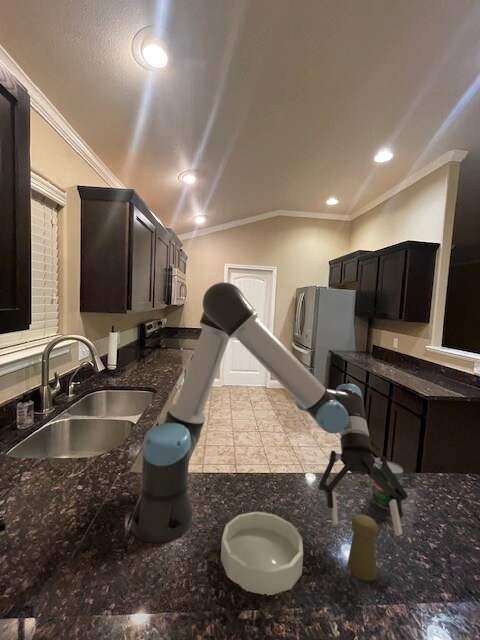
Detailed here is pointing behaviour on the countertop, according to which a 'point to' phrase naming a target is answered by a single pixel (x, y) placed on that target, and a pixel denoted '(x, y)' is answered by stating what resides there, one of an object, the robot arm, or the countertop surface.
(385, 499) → the canned tomato
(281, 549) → the bowl
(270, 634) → the countertop surface
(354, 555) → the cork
